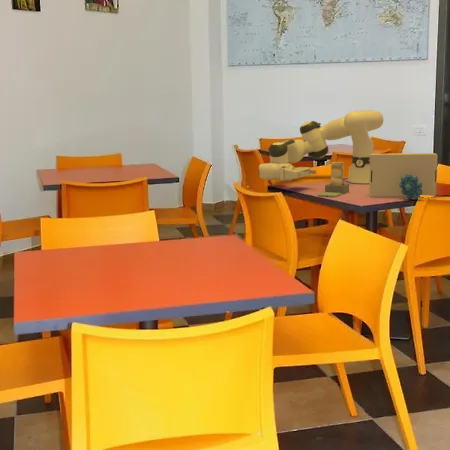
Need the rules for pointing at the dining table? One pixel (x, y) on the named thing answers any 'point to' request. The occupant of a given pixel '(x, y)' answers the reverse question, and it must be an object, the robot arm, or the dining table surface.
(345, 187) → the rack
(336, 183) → the block
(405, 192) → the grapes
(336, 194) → the mat
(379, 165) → the packaging
